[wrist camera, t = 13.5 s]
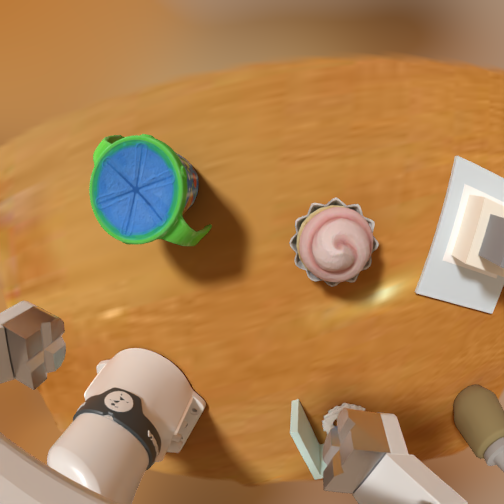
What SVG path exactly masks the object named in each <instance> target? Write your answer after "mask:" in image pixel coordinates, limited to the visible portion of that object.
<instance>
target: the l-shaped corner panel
mask: <svg viewBox="0 0 504 504" xmlns="http://www.w3.org/2000/svg"><path fill="white" fill-rule="evenodd" d="M343 408H348V409H354V410H361V411H365V408H362V407H361V406H356V405H354V404H352V405H351V404H347V403H343V404H342V405H341V406H335V407H334V408H333V409H330V411H328V414H327V415H325V416H324V419H325V420H323V421H322V424H323V425H322V427H323V428H324V429H323V431H327V435H328V433H329V431H330V429H332V428H334V427H335V425H333V422H334V420H335V419H337V417H338V415H339V413H340V411H341V410H342V409H343ZM290 434H291V436H292V438H293V440H294V442H295V444H296V446H297V448H298V449H299V451H300V453H301V455H302V457H303V459H304V461H305V462H306V464H307V466H308V468H309V470H310V472H311V473H312V475H313V477H314V479H315V480H316V479H321V478H323V471H324V470H325V468H326V467H327V464H326V463H325V462H324V461H323V446H324V444H320V445H319V443H318V440H317V438H316V436H315V434H314V432H313V430H312V427H311V425H310V423H309V421H308V419H307V417H306V414H305V412H304V410H303V408H302V406H301V403H300V401H299V399H297V400H293V401H292V406H291V424H290Z"/></svg>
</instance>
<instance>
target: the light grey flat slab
mask: <svg viewBox="0 0 504 504" xmlns="http://www.w3.org/2000/svg"><path fill="white" fill-rule="evenodd" d="M469 194H470V195H476V196H481V197H485V198H488V199H490V200H492V201H494V202H496V203H498V204H500V205H502V206H504V178H502V177H500V176H498V175H496V174H494V173H492V172H490V171H488V170H486V169H484V168H482V167H480V166H478V165H476V164H474V163H472V162H470V161H468V160H466V159H463V158H461V157H459V156H455V159H454V163H453V168H452V172H451V177H450V181H449V185H448V189H447V193H446V197H445V201H444V204H443V208H442V212H441V215H440V219H439V222H438V225H437V229H436V232H435V235H434V238H433V242H432V245H431V248H430V251H429V254H428V257H427V260H426V263H425V265H424V268H423V271H422V274H421V277H420V279H419V282H418V285H417V287H416V290H415V292H416V293H417V294H421V295H425V296H428V297H432V298H436V299H439V300H443V301H447V302H450V303H454V304H458V305H461V306H465V307H469V308H472V309H476V310H480V311H483V312H487V313H490V314H492V313H493V310H494V308H495V306H496V303H497V301H498V298H499V296H500V293H501V291H502V288H503V286H504V277H502V276H499V275H496V274H494V273H491V272H488V271H485V270H482V269H480V268H477V267H474V266H471V265H468V264H465V263H464V262H462V261H460V260H459V259H457V258H456V257H454V256H452V255H451V254H452V251H453V248H454V245H455V242H456V239H457V236H458V233H459V229H460V226H461V222H462V219H463V215H464V212H465V208H466V204H467V201H468V197H469Z"/></svg>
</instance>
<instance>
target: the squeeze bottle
mask: <svg viewBox="0 0 504 504" xmlns="http://www.w3.org/2000/svg"><path fill="white" fill-rule="evenodd" d="M454 422H455V425H456V427H457V429H458V430H459V431H460V433H461V434H462V436H463V437H464V439H465V440H466V442H467V443H468V445H469V446H470V448H471V449H472V451H473V452H474V454H475V455H476V457H478V458H480V459H481V458H484V459H485V461H486V463H487V465H489V466H493V465H497V466H498V467H499V468H500V469H501V470H502V471H503V472H504V411H503V409H502V407H501V405H500V403H499V401H498V399H497V397H496V395H495V394H494V393H493V392H492V391H490V390H488V389H486V388H484V387H482V386H480V385H471V386H468V387H467V388H465V389H464V390H462V391H461V392H460V393H459V395H458V396H457V397H456V399H455V401H454Z"/></svg>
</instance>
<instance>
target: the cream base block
mask: <svg viewBox="0 0 504 504" xmlns="http://www.w3.org/2000/svg"><path fill="white" fill-rule="evenodd" d="M490 214H492V215H496V216H499V217H502V218H504V206H502V205H500V204H498V203H496V202H494V201H492V200H490V199H488V198H485V197H481V196H476V195H470V194H469V197H468V201H467V204H466V208H465V212H464V215H463V219H462V222H461V226H460V229H459V233H458V236H457V239H456V242H455V245H454V248H453V251H452V254H451V255H452V256H454V257H456V258H457V259H459V260H460V261H462V262H464V263H465V264H468V265H471V266H474V267H477V268H480V269H482V270H485V271H488V272H491V273H494V274H496V275H499V276H502V277H504V268H502V267H499V266H498V265H496V264H494V263H492V262H490V261H489V260H487V259H485V258H483V257H481V256H479V255H478V254H479V251H480V248H481V245H482V242H483V238H484V235H485V232H486V228H487V225H488V221H489V218H490Z"/></svg>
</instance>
